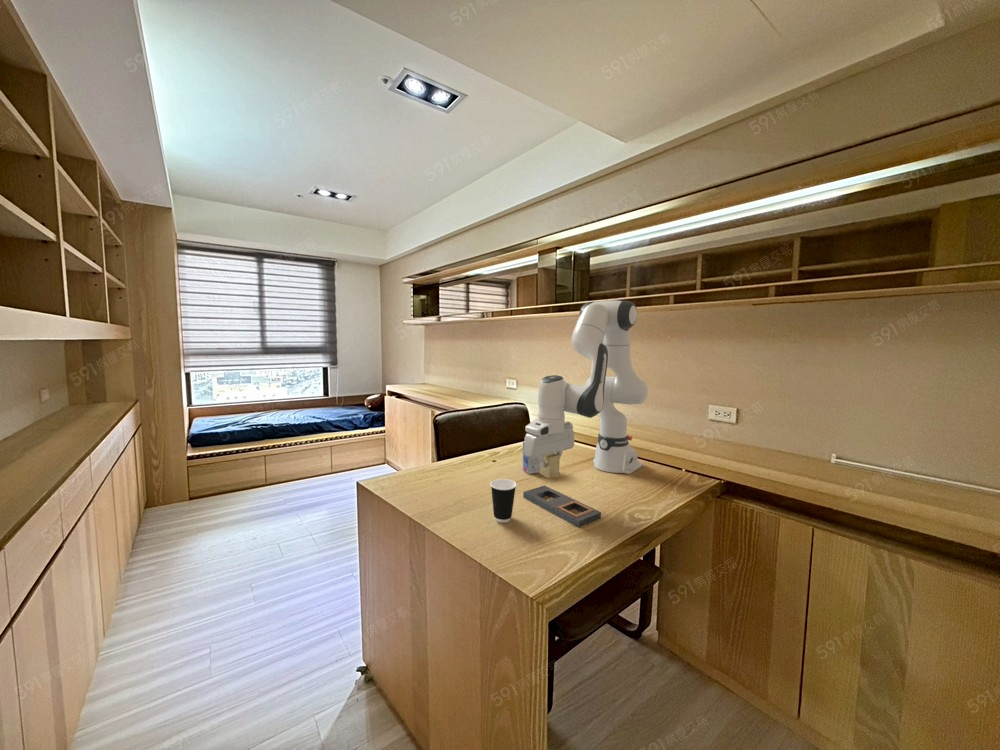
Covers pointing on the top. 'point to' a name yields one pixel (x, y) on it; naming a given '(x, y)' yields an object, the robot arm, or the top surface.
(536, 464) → the ink cartridge box
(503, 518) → the dixie cup
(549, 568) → the top surface
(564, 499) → the grey peg board
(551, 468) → the tan wooden block
